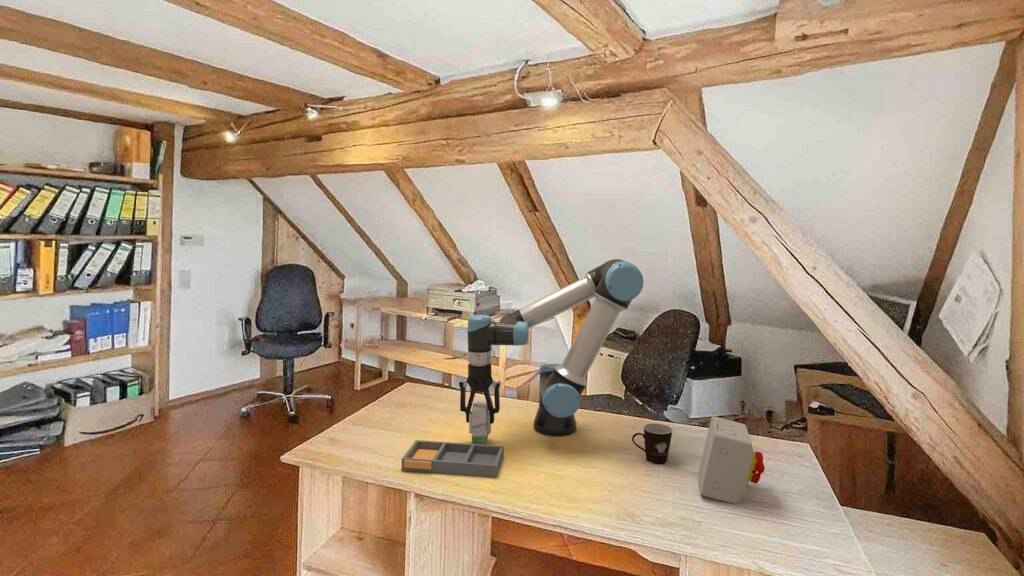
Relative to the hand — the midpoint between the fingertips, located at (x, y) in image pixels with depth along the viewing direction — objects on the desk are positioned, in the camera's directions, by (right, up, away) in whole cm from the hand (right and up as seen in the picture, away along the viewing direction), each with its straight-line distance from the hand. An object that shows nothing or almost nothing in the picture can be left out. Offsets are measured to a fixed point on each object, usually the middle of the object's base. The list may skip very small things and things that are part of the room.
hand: (480, 432), depth 182 cm
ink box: (0, -3, 0) cm, 3 cm away
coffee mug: (+54, -6, -9) cm, 55 cm away
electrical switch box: (+70, -9, -30) cm, 77 cm away
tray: (-7, -6, -15) cm, 17 cm away
